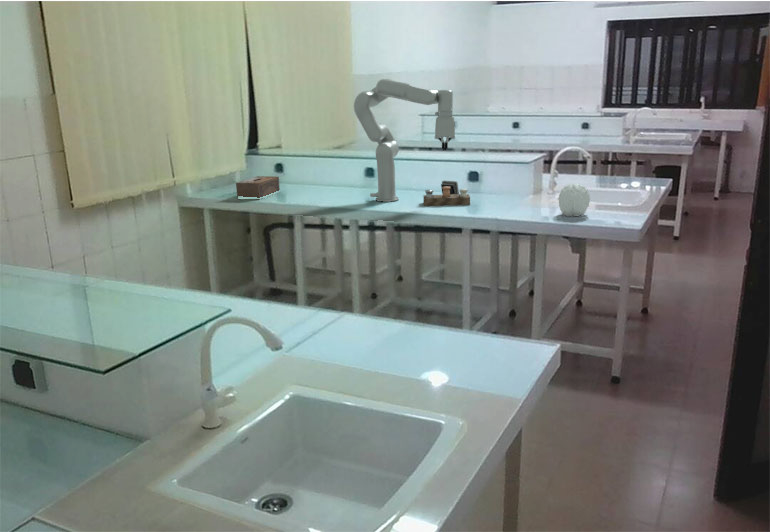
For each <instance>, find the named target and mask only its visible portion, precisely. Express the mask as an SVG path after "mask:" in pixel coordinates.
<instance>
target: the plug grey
mask: <svg viewBox="0 0 770 532" xmlns="http://www.w3.org/2000/svg"><path fill="white" fill-rule="evenodd" d="M433 193H434V190H433V189H425V195H426V197H433V195H434V194H433Z"/></svg>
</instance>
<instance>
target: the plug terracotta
mask: <svg viewBox="0 0 770 532" xmlns="http://www.w3.org/2000/svg"><path fill="white" fill-rule="evenodd" d="M442 189H443V194H442V195H443V197H450V187H448V186H445V187H442V188H441V190H442Z"/></svg>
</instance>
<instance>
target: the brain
mask: <svg viewBox="0 0 770 532" xmlns="http://www.w3.org/2000/svg"><path fill="white" fill-rule="evenodd" d="M557 200H558V206H559V210H560V211H561V214H563V215H564V216H565V215H566V217H571V216H574V217H578V216H579V217H581V216H582V215H585V214H586V211H587V209H588V208H589V207H590V202H591V197H590V192H589V190H588V189H587V187H586V186H585V185H583V184H580V183H569V184H566V185H565V186H564V185H563V187H562V189H561V190H560V192H559V195H558V199H557Z"/></svg>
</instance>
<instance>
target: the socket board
mask: <svg viewBox="0 0 770 532" xmlns="http://www.w3.org/2000/svg"><path fill="white" fill-rule="evenodd" d="M443 205H447V206H471V197H470V194H469V193H467V196H465V197H460V193H459V194H451V195H450V197H443V194H433V197H426V194H424V195H423V206H424V207H436V206H437V207H439V206H443Z"/></svg>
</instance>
